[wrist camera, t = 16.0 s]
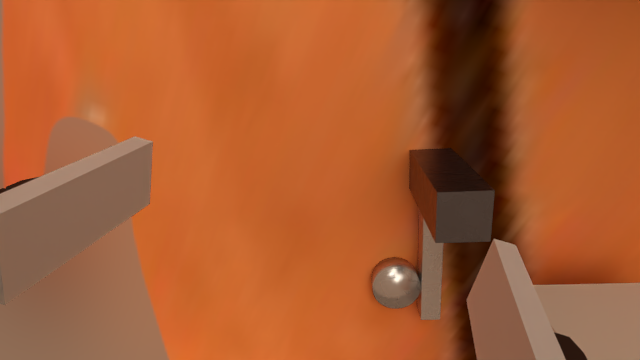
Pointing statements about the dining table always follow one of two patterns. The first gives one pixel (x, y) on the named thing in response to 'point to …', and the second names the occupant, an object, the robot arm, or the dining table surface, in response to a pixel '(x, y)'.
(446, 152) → the tool
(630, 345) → the cabinet
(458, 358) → the dining table surface
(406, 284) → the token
